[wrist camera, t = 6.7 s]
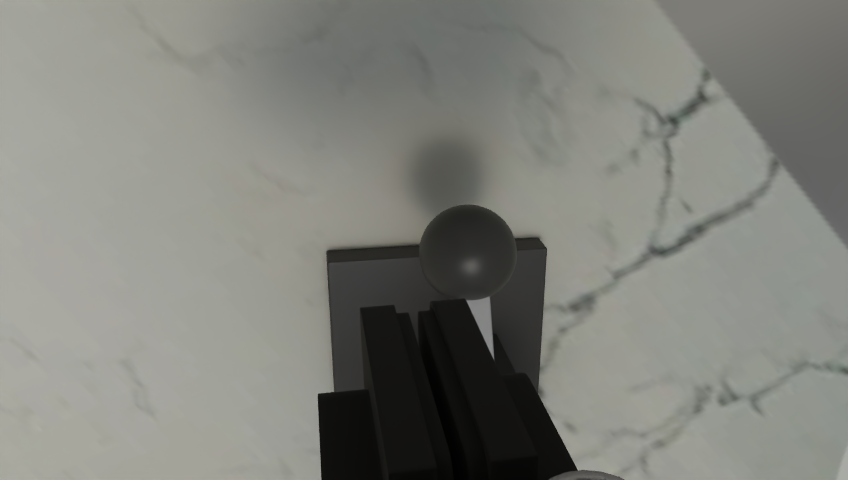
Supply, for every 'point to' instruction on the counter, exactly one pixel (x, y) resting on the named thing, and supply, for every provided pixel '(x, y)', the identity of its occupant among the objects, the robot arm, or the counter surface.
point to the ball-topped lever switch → (469, 259)
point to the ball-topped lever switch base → (411, 292)
